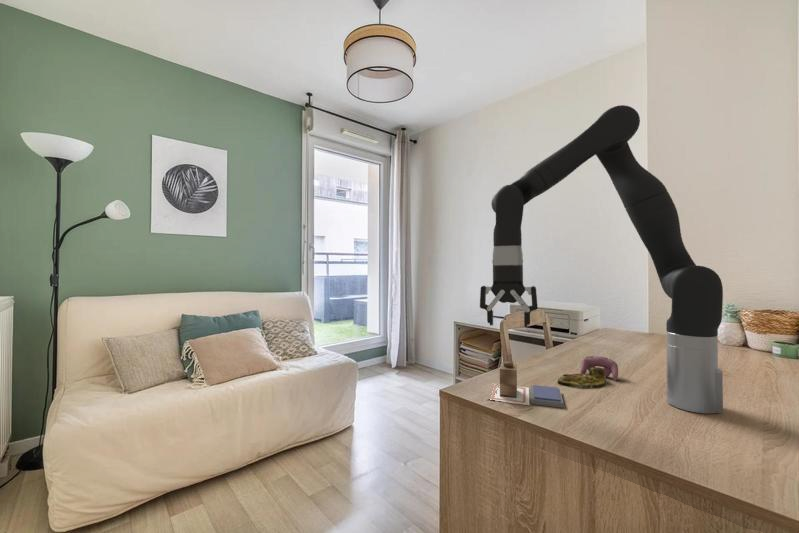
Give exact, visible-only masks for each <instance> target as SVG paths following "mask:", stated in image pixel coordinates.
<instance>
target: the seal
mask: <svg viewBox="0 0 799 533" xmlns="http://www.w3.org/2000/svg"><path fill="white" fill-rule="evenodd" d="M596 371H598V372H597V373H596ZM588 372H589V373H586V374H582V373H581V372H580V373H572V374H570V373H564V374H562V376H560V377H559V378H558V379H557V384H558V385H564V386H566V385H567V387H569V386H570V388H575V387H578V388H577V389H596V388H597V387H598V388H601V387H602V386H603V387H605V386H606V385H607V384H608V383H607V382H608V381H607V377H605V376H604V370H603V367H600V366H596V368H591V370H590V371H589V370H588ZM598 388H597V389H598Z"/></svg>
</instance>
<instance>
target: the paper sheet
mask: <svg viewBox="0 0 799 533" xmlns="http://www.w3.org/2000/svg"><path fill="white" fill-rule="evenodd" d="M493 384H494V388H493V391H492V395H491V399H490V400H492V399H493V400H495V401H494V402H498V401H501V402H500V403H507V402H508V403H509V404H515V405H516V404H517V405H525V406H530V387H524V386H518V385H517V397H516V398H510V397H502V396H500V388H498V387H497V386H499V387H500V384H499V385H496V384H497V383H493ZM496 387H497V388H496ZM497 389H498V390H497ZM496 390H497V394H496V393H495V391H496ZM494 393H495V395H494ZM494 396H495V397H494ZM490 400H489V401H490Z"/></svg>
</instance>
